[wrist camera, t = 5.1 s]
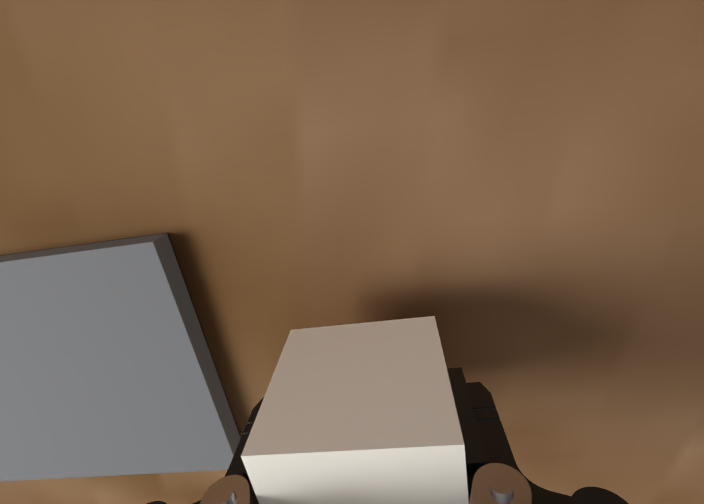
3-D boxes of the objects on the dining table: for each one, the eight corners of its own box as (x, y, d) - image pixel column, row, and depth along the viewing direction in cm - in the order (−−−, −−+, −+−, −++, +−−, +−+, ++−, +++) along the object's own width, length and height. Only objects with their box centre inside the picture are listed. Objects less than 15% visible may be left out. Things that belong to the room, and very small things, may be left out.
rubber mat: (166, 232, 15) (152, 241, 14) (245, 451, 19) (238, 469, 18) (-124, 272, 17) (-154, 282, 16) (8, 464, 21) (-9, 481, 20)
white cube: (434, 315, 12) (464, 444, 8) (445, 426, 14) (474, 583, 10) (290, 329, 13) (241, 455, 9) (318, 434, 15) (289, 583, 10)
